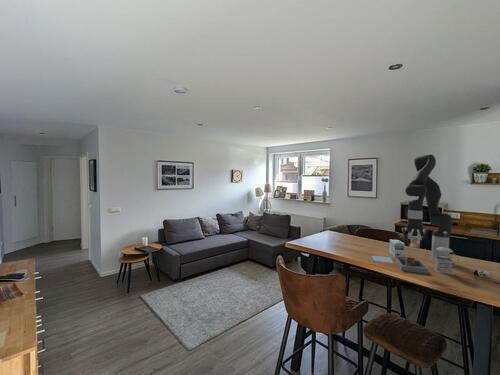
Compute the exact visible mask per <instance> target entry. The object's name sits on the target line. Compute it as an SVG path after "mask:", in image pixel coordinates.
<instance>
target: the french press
mask: <svg viewBox="0 0 500 375" xmlns="http://www.w3.org/2000/svg"><path fill="white" fill-rule="evenodd" d="M443 233H444V234H445V235H446V234H447V232H443ZM436 250H438V251H441V252H444V255H437V257H436V261H435V268H434V271H435V272H437V273H440V274H444V275H451V276H454V275H455V274H454V273H453V267H456V266H457V265H458V264H459V262H460V260H459V257H458V255H457V254H455V253H454V250H452V249H451V248H446V247H445V246H444V247H439V248H436ZM445 252H446V253H450V254H451V255H450V256H445ZM453 256H455V257H456V258H457V262H456V263H454V264H453V259H452V257H453ZM443 259H446V260H448V261H446V260H443Z"/></svg>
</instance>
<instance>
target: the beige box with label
mask: <svg viewBox="0 0 500 375" xmlns="http://www.w3.org/2000/svg"><path fill="white" fill-rule="evenodd" d="M408 246H409V247H410V248H414V249H415V248H417V249H420V247H421V245H420V238H419V237H418V236H416V235H412V236H411V238H410V245H408Z"/></svg>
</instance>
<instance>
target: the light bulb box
mask: <svg viewBox="0 0 500 375" xmlns="http://www.w3.org/2000/svg"><path fill="white" fill-rule="evenodd" d="M405 246H406V243H404V242H402V241H401V240H400V239H389V250H388V251H389V254H390V255H391V256H393V257H394V258H405V255H406V254H405V249H406V247H405Z"/></svg>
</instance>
